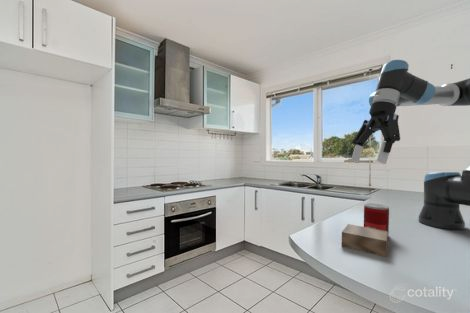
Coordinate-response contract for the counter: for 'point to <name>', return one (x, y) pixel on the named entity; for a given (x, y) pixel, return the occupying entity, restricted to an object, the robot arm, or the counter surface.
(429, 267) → the counter surface
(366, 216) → the canned food
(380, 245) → the brown wooden block
